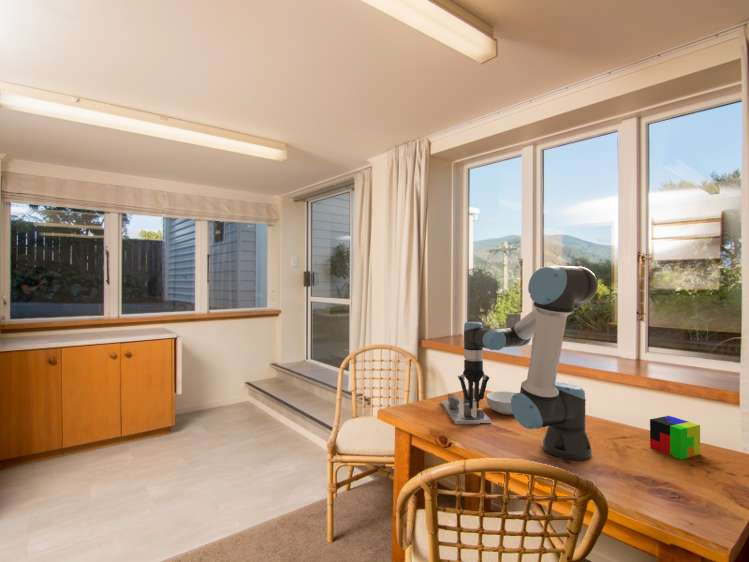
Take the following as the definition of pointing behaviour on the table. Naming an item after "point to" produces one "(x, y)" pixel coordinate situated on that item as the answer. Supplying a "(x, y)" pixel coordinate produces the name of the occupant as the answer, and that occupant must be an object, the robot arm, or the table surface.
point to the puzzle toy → (675, 436)
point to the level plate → (459, 415)
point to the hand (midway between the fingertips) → (473, 416)
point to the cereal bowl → (500, 401)
